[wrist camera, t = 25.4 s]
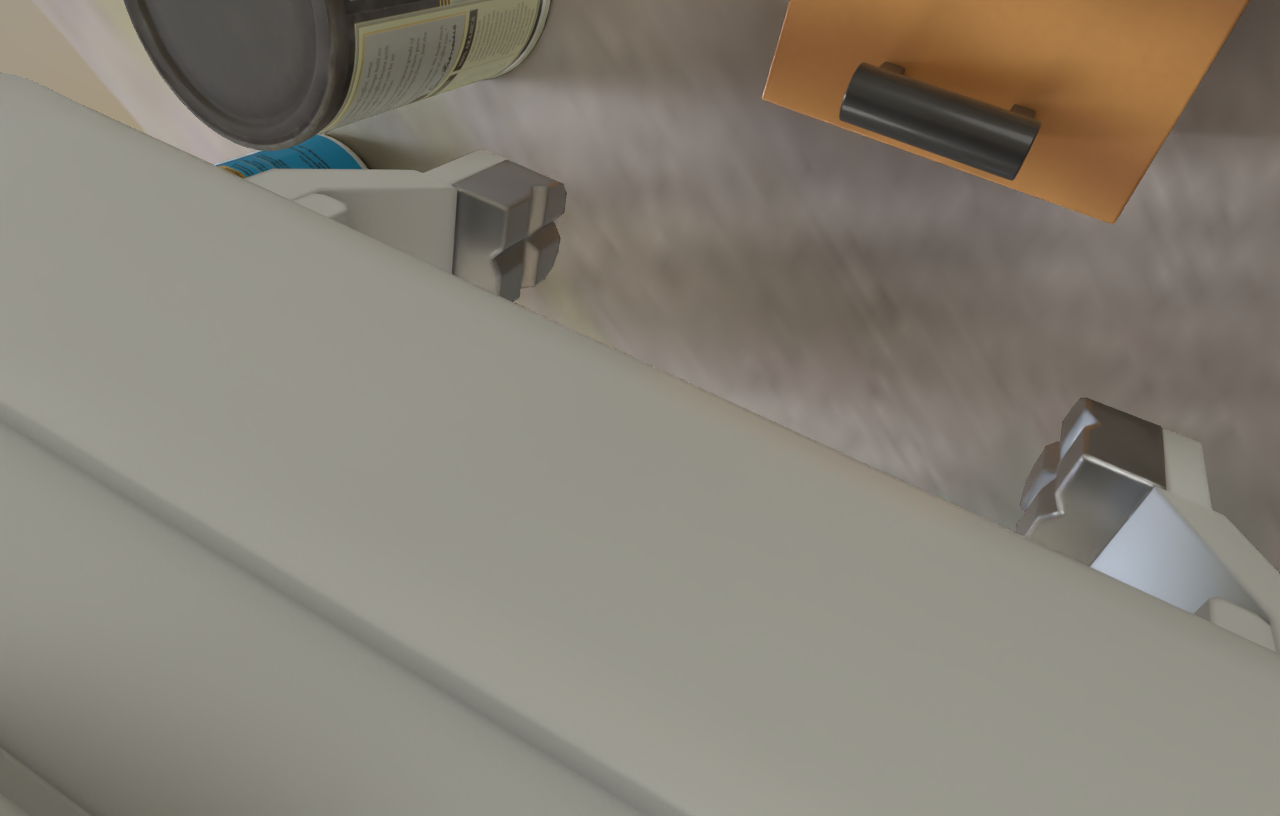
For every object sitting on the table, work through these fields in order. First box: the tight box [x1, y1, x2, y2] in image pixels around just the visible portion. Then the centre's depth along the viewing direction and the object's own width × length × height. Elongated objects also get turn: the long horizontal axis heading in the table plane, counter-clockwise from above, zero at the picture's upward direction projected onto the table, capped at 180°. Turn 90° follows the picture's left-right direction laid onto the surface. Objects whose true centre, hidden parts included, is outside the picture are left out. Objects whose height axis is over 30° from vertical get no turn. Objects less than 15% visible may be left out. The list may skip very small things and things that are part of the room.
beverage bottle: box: [213, 134, 368, 179], centre depth 43 cm, size 8×8×20 cm
